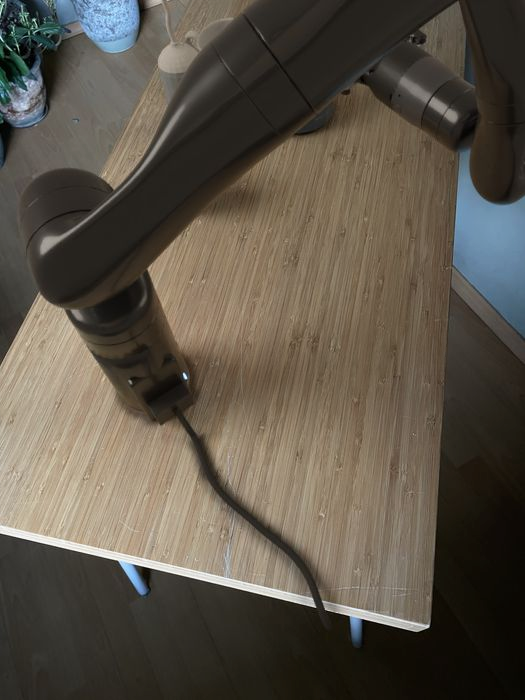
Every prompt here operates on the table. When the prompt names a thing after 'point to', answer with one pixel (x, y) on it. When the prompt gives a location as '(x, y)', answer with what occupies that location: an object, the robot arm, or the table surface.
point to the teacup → (206, 33)
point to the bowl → (319, 118)
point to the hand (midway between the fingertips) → (336, 30)
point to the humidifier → (173, 57)
